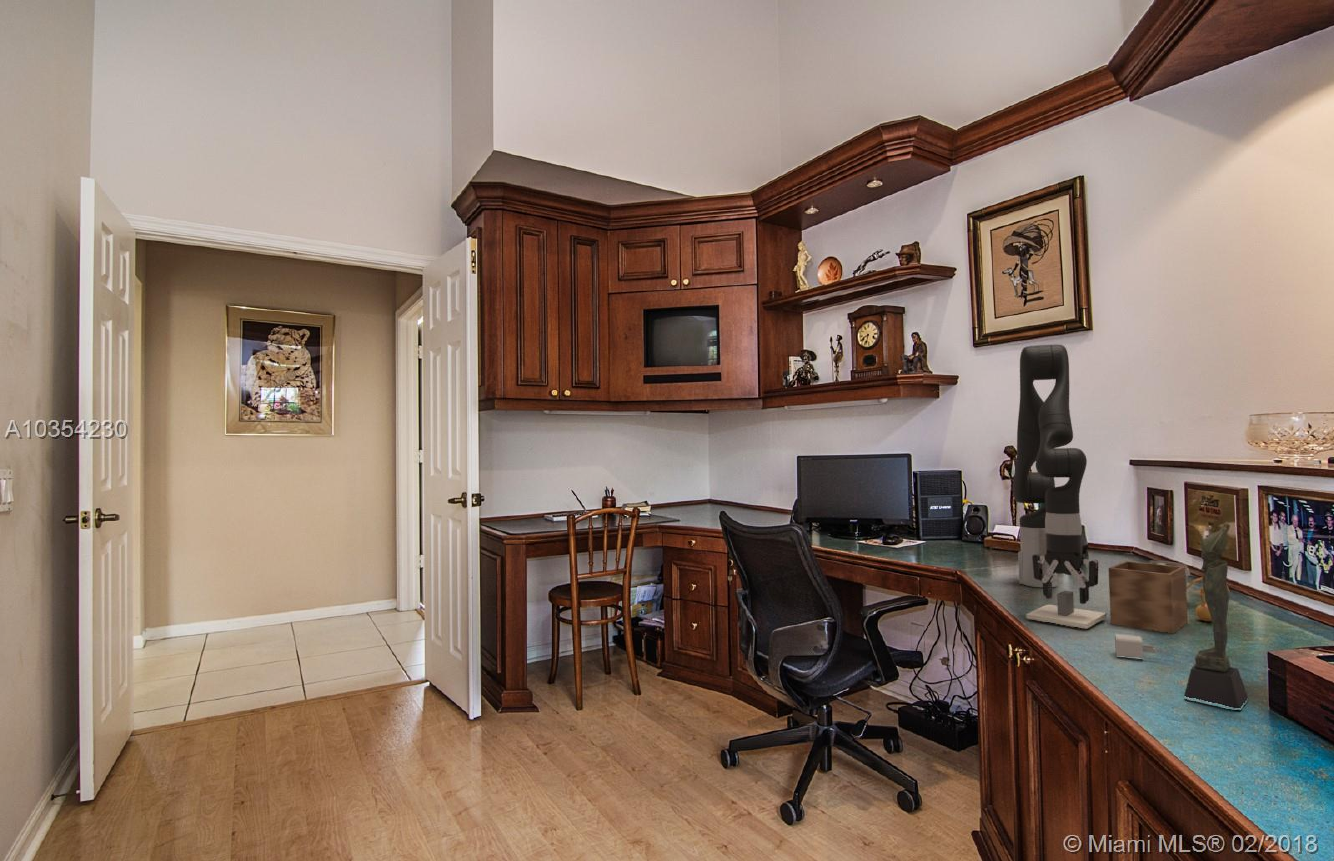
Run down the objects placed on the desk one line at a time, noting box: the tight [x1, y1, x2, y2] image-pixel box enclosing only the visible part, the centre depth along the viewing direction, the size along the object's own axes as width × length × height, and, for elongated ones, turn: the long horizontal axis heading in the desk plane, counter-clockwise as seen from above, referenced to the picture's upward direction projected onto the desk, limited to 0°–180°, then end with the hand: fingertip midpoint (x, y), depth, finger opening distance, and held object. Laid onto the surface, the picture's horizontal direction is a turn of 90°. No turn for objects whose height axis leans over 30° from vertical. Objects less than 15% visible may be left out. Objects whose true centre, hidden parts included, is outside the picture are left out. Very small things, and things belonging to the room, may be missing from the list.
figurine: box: [1186, 576, 1231, 622], centre depth 158 cm, size 8×6×12 cm
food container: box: [1149, 560, 1191, 588], centre depth 176 cm, size 12×6×10 cm, turn 168°
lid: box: [1025, 590, 1107, 629], centre depth 162 cm, size 13×13×7 cm
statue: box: [1183, 521, 1249, 708], centre depth 113 cm, size 7×8×30 cm
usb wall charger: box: [1114, 633, 1160, 659], centre depth 135 cm, size 4×7×4 cm, turn 60°
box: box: [1108, 560, 1189, 634], centre depth 158 cm, size 12×12×13 cm
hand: (1065, 600), depth 162 cm, fingers open, 7 cm apart
